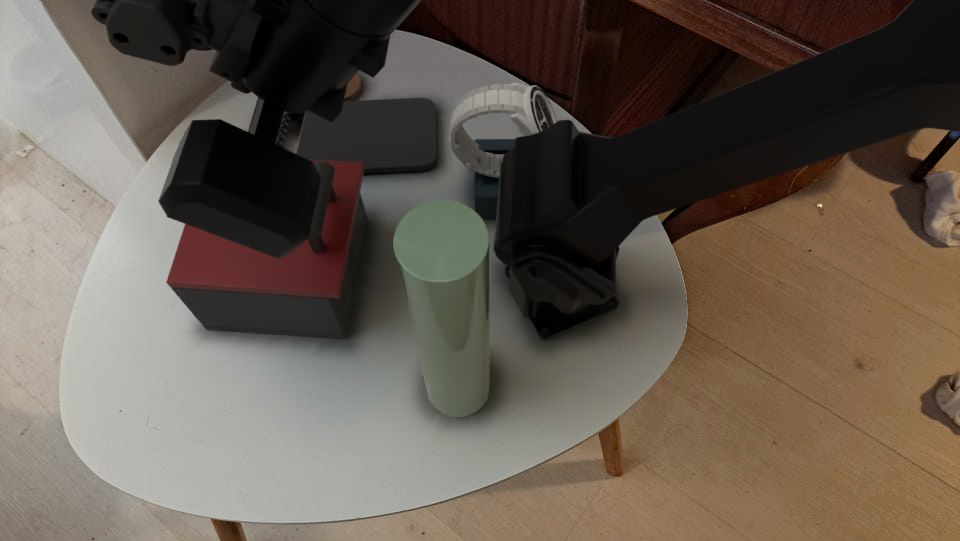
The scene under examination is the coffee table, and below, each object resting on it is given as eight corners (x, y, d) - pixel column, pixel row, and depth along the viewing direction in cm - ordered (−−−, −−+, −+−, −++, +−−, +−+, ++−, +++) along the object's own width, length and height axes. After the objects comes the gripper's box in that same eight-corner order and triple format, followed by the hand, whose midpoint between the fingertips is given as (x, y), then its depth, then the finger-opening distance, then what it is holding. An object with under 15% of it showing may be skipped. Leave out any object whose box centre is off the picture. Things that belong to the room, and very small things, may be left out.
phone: (437, 165, 59) (251, 174, 58) (438, 171, 60) (254, 180, 59) (435, 96, 62) (260, 103, 62) (435, 102, 63) (262, 110, 63)
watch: (554, 219, 57) (567, 128, 48) (452, 219, 57) (445, 128, 48) (551, 162, 60) (563, 65, 50) (454, 162, 60) (447, 65, 50)
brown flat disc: (352, 66, 65) (351, 59, 65) (368, 96, 64) (366, 90, 63) (310, 80, 65) (308, 73, 64) (324, 111, 63) (323, 105, 62)
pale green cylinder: (474, 348, 52) (465, 186, 34) (500, 402, 50) (505, 260, 33) (417, 372, 51) (379, 219, 34) (441, 428, 49) (414, 296, 32)
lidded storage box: (367, 218, 57) (353, 167, 52) (345, 339, 52) (327, 298, 47) (239, 211, 58) (211, 159, 52) (205, 329, 53) (170, 287, 47)
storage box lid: (364, 168, 52) (354, 128, 48) (339, 298, 47) (326, 266, 43) (210, 159, 52) (189, 119, 48) (169, 287, 47) (141, 254, 43)
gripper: (216, -273, 31) (125, -38, 42) (63, 42, 22) (0, 234, 33) (430, -115, 37) (300, 56, 48) (377, 188, 28) (233, 310, 39)
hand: (220, 148), depth 42 cm, fingers open, 9 cm apart
